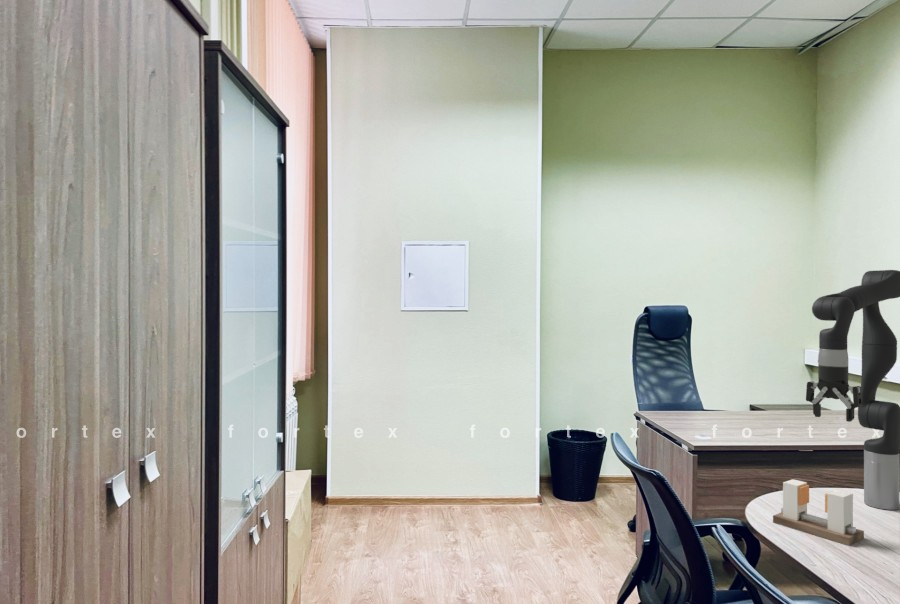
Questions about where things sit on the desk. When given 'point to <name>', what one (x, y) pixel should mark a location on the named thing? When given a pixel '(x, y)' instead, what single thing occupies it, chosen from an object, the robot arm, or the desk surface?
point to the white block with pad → (839, 510)
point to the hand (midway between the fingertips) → (833, 418)
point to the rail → (818, 530)
